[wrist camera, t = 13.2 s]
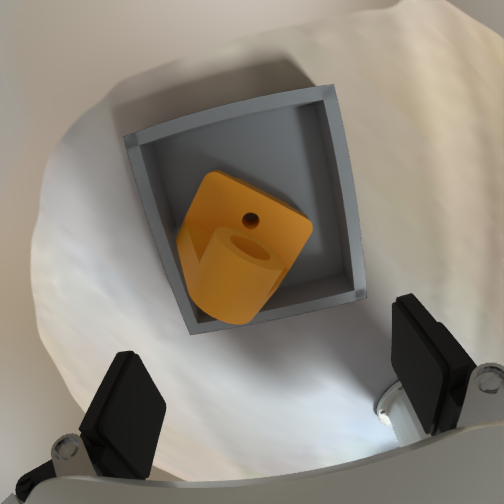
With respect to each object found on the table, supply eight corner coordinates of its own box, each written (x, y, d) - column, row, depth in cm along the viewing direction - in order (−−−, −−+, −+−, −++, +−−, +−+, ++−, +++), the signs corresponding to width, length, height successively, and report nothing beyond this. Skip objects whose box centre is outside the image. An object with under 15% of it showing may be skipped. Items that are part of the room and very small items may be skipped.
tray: (320, 91, 27) (333, 84, 22) (352, 276, 34) (366, 297, 29) (142, 135, 28) (123, 136, 24) (197, 309, 35) (190, 335, 31)
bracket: (311, 216, 31) (345, 265, 19) (275, 276, 33) (287, 348, 22) (212, 165, 29) (187, 185, 18) (181, 230, 31) (144, 285, 20)
